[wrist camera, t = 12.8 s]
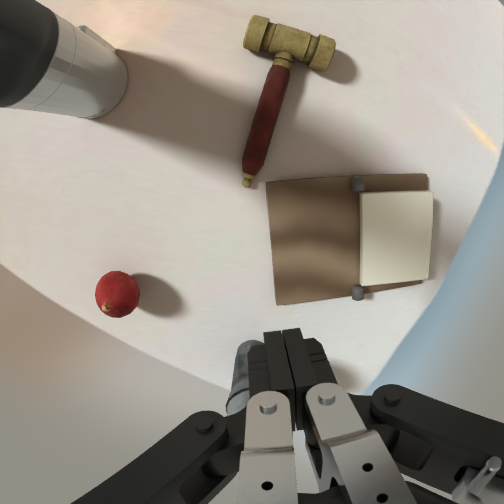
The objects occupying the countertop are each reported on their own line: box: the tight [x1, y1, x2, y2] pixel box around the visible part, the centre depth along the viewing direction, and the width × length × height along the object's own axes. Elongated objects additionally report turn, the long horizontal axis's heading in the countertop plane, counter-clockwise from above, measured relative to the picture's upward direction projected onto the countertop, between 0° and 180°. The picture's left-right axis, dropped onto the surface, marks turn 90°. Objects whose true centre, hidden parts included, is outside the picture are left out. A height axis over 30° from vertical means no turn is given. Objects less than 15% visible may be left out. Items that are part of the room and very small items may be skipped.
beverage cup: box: [226, 340, 263, 416], centre depth 35 cm, size 7×7×20 cm
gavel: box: [242, 15, 336, 187], centre depth 33 cm, size 21×5×10 cm
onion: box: [95, 271, 140, 318], centre depth 36 cm, size 6×6×8 cm
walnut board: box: [265, 174, 427, 305], centre depth 38 cm, size 16×22×3 cm
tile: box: [360, 191, 433, 286], centre depth 37 cm, size 12×10×1 cm
